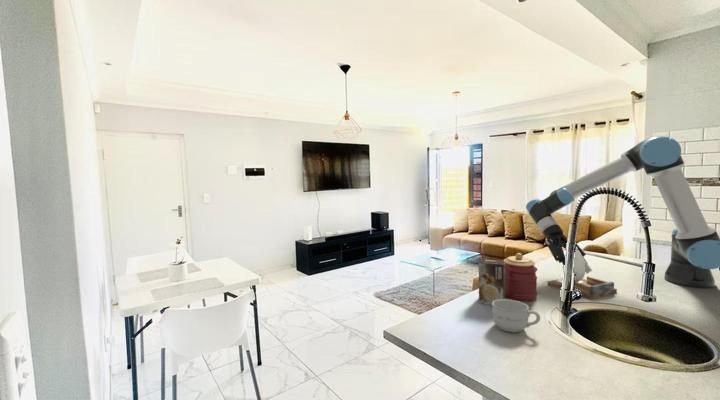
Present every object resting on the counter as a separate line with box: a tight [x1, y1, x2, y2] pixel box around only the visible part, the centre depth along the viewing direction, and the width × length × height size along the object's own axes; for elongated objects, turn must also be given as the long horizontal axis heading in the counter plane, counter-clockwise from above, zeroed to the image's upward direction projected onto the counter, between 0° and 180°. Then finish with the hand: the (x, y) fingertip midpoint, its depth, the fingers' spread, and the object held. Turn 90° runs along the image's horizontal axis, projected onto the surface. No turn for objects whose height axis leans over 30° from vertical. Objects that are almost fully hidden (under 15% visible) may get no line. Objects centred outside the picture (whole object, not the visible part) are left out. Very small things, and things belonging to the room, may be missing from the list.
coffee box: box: [478, 258, 505, 306], centre depth 124 cm, size 9×6×16 cm
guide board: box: [547, 276, 618, 300], centre depth 135 cm, size 16×18×4 cm
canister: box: [503, 252, 538, 303], centre depth 129 cm, size 13×13×18 cm
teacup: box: [491, 298, 541, 333], centre depth 102 cm, size 14×11×8 cm
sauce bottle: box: [562, 247, 586, 282], centre depth 136 cm, size 8×8×18 cm
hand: (582, 273), depth 134 cm, fingers closed on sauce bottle, 7 cm apart
